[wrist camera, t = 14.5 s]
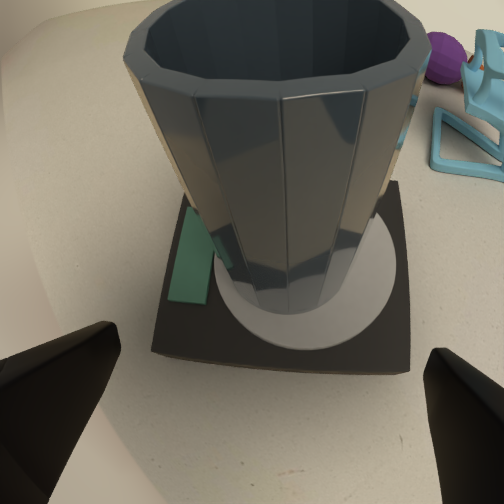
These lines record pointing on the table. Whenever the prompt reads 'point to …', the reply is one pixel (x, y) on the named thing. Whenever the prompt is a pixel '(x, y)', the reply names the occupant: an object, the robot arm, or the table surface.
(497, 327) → the table surface
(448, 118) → the chair
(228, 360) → the scale
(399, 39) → the cup
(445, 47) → the kendama
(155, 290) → the table surface
